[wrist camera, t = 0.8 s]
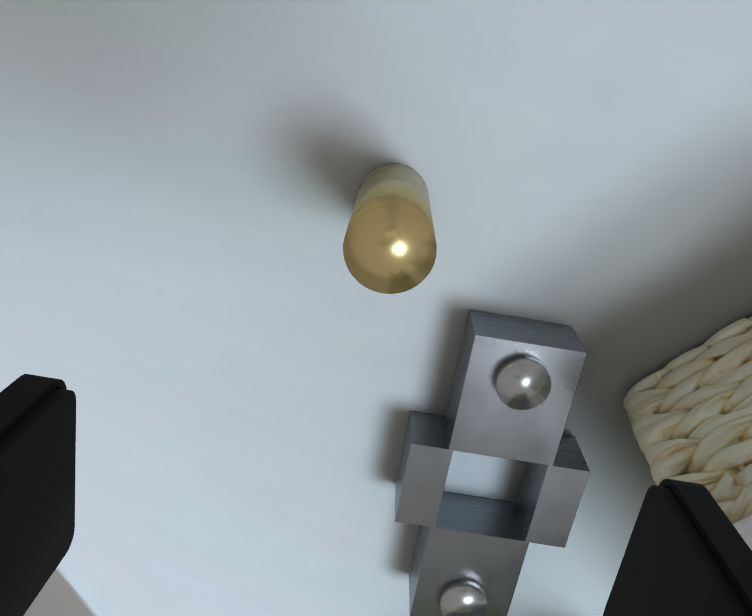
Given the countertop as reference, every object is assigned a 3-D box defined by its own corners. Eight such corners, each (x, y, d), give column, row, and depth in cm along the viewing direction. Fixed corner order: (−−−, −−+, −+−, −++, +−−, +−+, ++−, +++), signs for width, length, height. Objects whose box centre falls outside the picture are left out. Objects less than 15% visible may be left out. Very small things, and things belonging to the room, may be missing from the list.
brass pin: (363, 158, 30) (350, 196, 22) (434, 169, 30) (444, 212, 22) (353, 227, 31) (337, 285, 24) (421, 238, 31) (427, 300, 24)
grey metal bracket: (432, 303, 32) (435, 334, 29) (607, 332, 32) (631, 365, 29) (378, 570, 38) (375, 620, 35) (525, 592, 38) (537, 645, 35)
